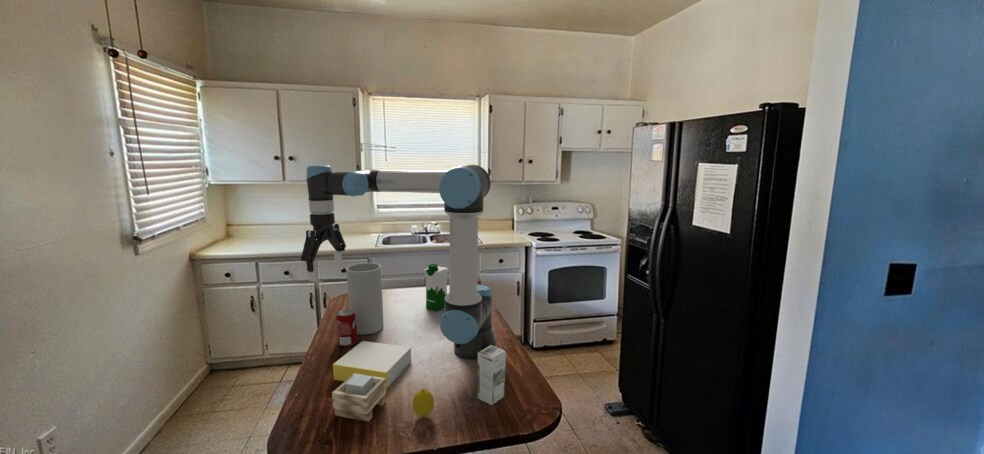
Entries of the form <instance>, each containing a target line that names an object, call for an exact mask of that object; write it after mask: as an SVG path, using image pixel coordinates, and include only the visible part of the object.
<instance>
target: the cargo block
mask: <svg viewBox="0 0 984 454" xmlns="http://www.w3.org/2000/svg"><path fill="white" fill-rule="evenodd" d="M372 388H373V377H372V376H366V375H359V374H356V375H355V376H354V377H353V378H351V379H350V380H349V381H348V382H347V383H346V393H351V394H357V395H363V396H365V395H366V394H367V393H368V392H369V391H370V390H371V389H372Z"/></svg>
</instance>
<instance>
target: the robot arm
mask: <svg viewBox="0 0 984 454" xmlns="http://www.w3.org/2000/svg"><path fill="white" fill-rule="evenodd" d="M305 180H306V185H307V194H308V206H309V207H308V209H309V213H310V214H309V221H310V222H309V224H310V225H311V226H312V228H313V229H312V230H310V229H307V230H306V231H305V240H304V244H303V249H302V253H301V257H300V261H301V262H306V263H305V264H306V270H307V277H308V281H309V282H318V272H317V271H318V270H317V261H315V259H316V257H317V253H319V248H320V247H321V244H323V243H324V242H326V241H328V242H329V243H330V245H331V246H332V248H333V249H334V250H333V258H334V260H333V261H334V262H333V263H334V270H341V271H342V270H343V269H344V267H343V252H344V251H345V250H346V248H347V245H346V242H345V240H344V238H343V235H342V233H341V230H340V225H339V223H335V222H336V220H335V213H334V211H335V204H334V203H335V202H334V196H345V197H346V196H347V197H348V196H349V197H357V196H358V197H360V196H361V197H362V196H365V194H366V193H370V192H371V193H384V192H385V193H414V194H415V193H417V194H418V193H420V194H423V193H424V194H439V196H440V198H441V200H442V201H443V202H444V203H443V204H444V207H443V209H444V213H445V214H446V215H447V216H448V217H449V292H447V295H446V296H445V308H444V313H443V314H442V315H441V318H440V320H439V329H440V332H441V333H442V335H443V336H444V337H445V338H446V339H447V340H448V341H449V342H452V344H453V351H454V352H455V354H456V355H457V356H459V357H461V358H463V359H469V360H478V352H479V351H481V350H483V349H485V348H487V347H488V346H490V345H492V346H495V347H498V344H497V339H496V336H495V334H494V330H493V297H494V296H493V290H492V288H491V287H490V286H488V285H482V284H478V257H479V256H478V255H479V254H478V252H479V249H478V248H479V245H478V244H479V243H478V242H479V216H481V215H482V214H483V213H484V198H485V197H487V196H488V194H489V192H490V190H491V183H492V182H491V177H490V175H489V173H488V172H487V170H486V169H485V168H483V167H482V166H479V165H477V164H468V165H467V164H466V165H456V166H453V167H451V168H450V169H449V170H447V169H445V170H442V169H440V170H439V169H437V170H436V169H434V170H432V169H431V170H429V169H428V170H427V169H426V170H425V169H420V170H418V169H415V170H414V169H413V170H411V169H408V170H407V169H401V170H400V169H399V170H398V169H380V170H379V169H374V168H373V169H366V170H355V171H354V170H353V171H333V170H332V167H331V166H330V165H327V164H326V165H324V164H318V165H317V164H315V165H308V166H307V167H306V179H305Z"/></svg>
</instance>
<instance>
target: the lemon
mask: <svg viewBox="0 0 984 454" xmlns="http://www.w3.org/2000/svg"><path fill="white" fill-rule="evenodd" d="M434 406H435V401H434V396H433V393H432V392H431V391H430V390H428V389H425V388H421V389H419V390H418V391H417V392H416V393H415V394H414V395H413V398H412V410H413V412H414V414H415V415H416V416H418V417H421V418H426V417H428V416H429V415H430V414H431V413H432V412H433V409H434V408H435V407H434Z"/></svg>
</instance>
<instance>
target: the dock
mask: <svg viewBox="0 0 984 454" xmlns="http://www.w3.org/2000/svg"><path fill="white" fill-rule="evenodd" d="M411 363H412V347H411V346H410V347H409V346H402V345H395V344H388V343H380V342H373V341H366V340H362V341H360V342H359V343H358V344H356V345H355V346H354V347H353V348H352V349H350V350H349V351H348V352H347V353H345V354H344V355H342V357H340V358H339V359H338V360H337V361H335V362H334V363H332V369H333V371H332V372H333V380H335V381H341V382H345V381H346V380H347V379H348V378H349V377H350V376H351V375H352V374H354V373H356V374H362V375H369V376H375V377H381V378H386V389H388V388H389V387H390V385H392V383H394V381H395V380H396V379H397V378H398V377H399V376H400V375H401V374H402V372H403V371H404V370H405V369H406V368H407V367H408V366H409V365H410V364H411Z"/></svg>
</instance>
